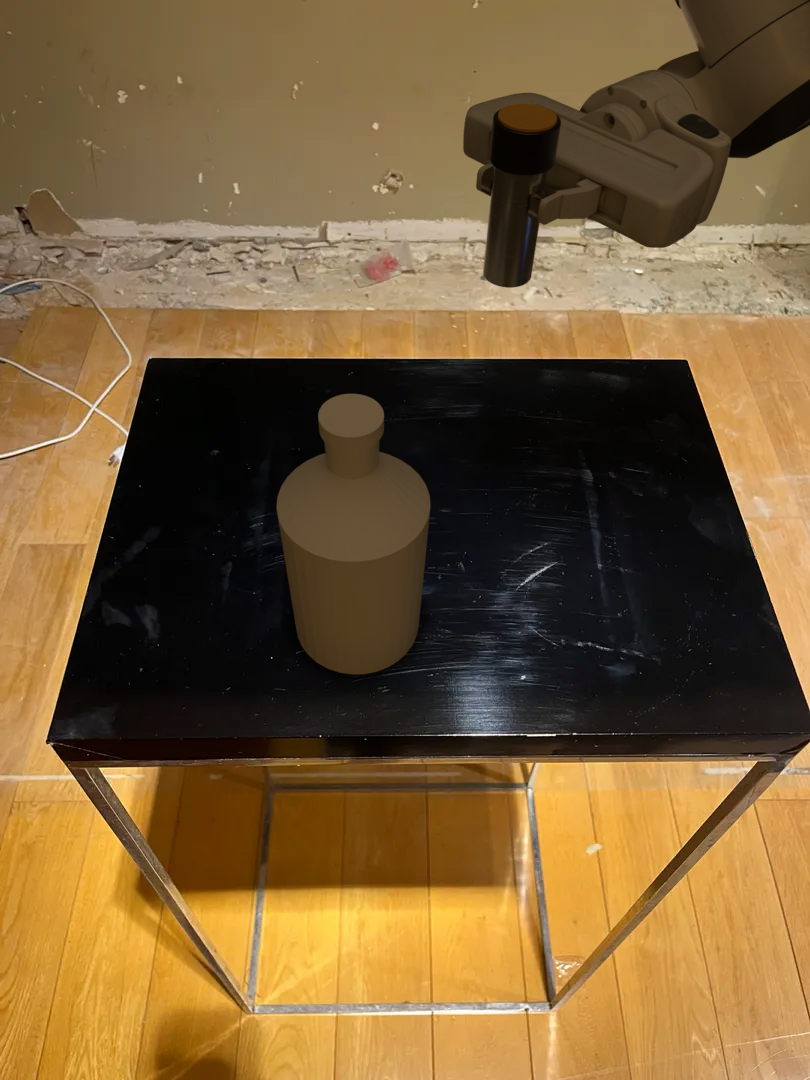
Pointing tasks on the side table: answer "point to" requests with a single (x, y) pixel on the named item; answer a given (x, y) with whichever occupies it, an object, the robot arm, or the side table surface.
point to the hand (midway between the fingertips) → (509, 197)
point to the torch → (517, 189)
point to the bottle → (354, 543)
